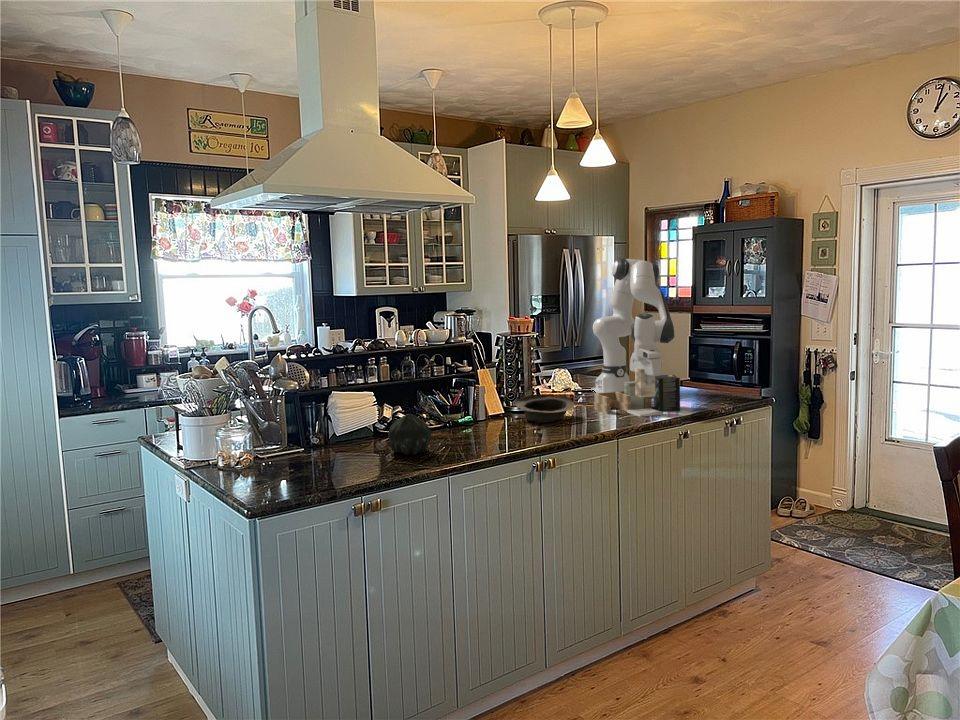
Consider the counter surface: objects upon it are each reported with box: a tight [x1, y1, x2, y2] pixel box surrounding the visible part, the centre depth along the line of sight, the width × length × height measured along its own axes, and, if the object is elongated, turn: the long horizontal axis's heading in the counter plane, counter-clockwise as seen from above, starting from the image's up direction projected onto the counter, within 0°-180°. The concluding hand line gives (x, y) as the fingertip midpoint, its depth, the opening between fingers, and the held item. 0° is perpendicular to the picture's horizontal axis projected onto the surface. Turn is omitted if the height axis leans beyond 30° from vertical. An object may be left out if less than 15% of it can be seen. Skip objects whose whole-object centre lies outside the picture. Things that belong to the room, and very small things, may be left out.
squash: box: [388, 413, 432, 456], centre depth 254 cm, size 14×15×15 cm
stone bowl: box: [514, 393, 575, 424], centre depth 305 cm, size 25×25×9 cm
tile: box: [626, 407, 664, 418], centre depth 311 cm, size 11×11×1 cm
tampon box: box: [653, 374, 681, 412], centre depth 319 cm, size 11×9×15 cm
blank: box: [634, 368, 655, 398], centre depth 310 cm, size 4×7×12 cm, turn 108°
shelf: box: [592, 380, 652, 415], centre depth 321 cm, size 13×22×12 cm, turn 107°
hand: (645, 384), depth 310 cm, fingers closed on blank, 4 cm apart
